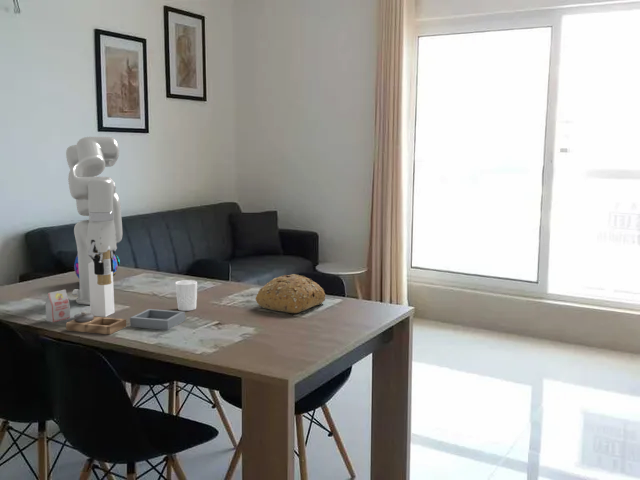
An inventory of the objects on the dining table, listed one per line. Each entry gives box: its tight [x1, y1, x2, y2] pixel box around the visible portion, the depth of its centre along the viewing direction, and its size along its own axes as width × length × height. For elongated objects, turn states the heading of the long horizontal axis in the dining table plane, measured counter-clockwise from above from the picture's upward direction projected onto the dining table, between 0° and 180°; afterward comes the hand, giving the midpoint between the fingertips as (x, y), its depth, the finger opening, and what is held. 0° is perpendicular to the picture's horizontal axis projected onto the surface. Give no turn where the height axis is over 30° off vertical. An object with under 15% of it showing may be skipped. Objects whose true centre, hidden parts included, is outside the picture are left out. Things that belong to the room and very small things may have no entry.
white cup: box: [174, 279, 198, 312], centre depth 242 cm, size 8×8×10 cm
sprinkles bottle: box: [97, 246, 112, 285], centre depth 213 cm, size 5×5×14 cm
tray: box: [129, 308, 186, 331], centre depth 223 cm, size 14×12×3 cm
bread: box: [255, 273, 326, 314], centre depth 247 cm, size 24×21×12 cm
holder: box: [65, 311, 127, 335], centre depth 217 cm, size 16×9×5 cm, turn 74°
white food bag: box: [45, 289, 71, 323], centre depth 227 cm, size 4×7×10 cm, turn 145°
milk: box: [88, 261, 116, 318], centre depth 233 cm, size 6×6×22 cm
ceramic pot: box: [73, 254, 121, 279], centre depth 283 cm, size 18×18×15 cm
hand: (104, 272), depth 214 cm, fingers closed on sprinkles bottle, 4 cm apart
